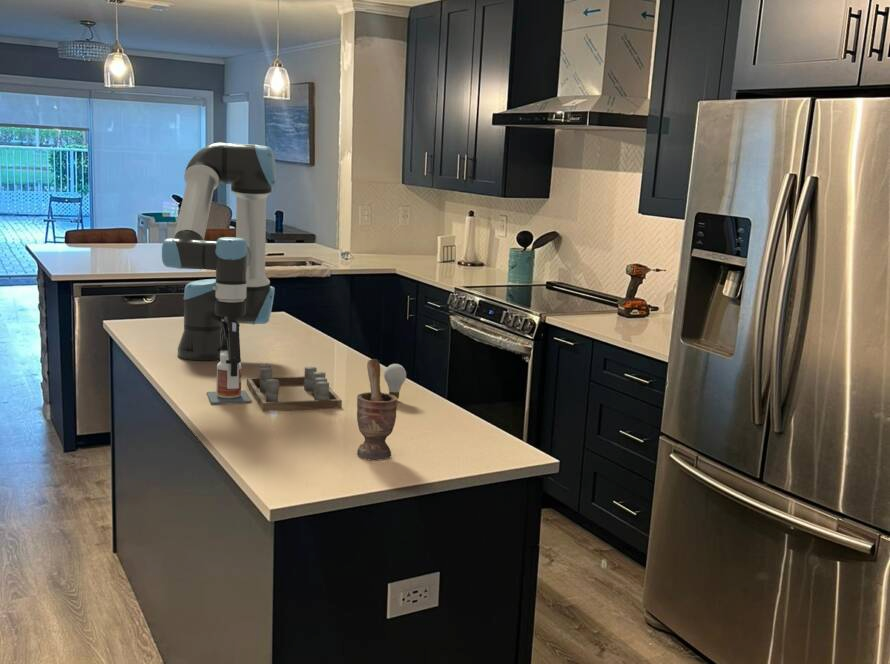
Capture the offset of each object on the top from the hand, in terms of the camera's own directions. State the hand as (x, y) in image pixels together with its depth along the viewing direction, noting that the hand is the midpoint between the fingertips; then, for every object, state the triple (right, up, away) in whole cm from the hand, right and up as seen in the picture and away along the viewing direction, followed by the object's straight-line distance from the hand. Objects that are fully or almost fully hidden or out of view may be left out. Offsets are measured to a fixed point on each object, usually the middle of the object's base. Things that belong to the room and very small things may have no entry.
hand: (229, 381), depth 224 cm
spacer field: (+15, -4, +7) cm, 17 cm away
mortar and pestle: (+39, -14, -33) cm, 53 cm away
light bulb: (+42, -6, +9) cm, 43 cm away
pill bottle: (0, -4, +1) cm, 4 cm away
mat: (0, -4, +1) cm, 4 cm away
